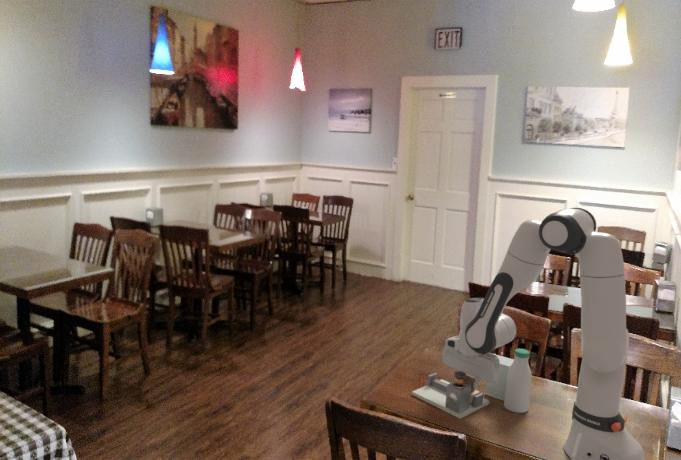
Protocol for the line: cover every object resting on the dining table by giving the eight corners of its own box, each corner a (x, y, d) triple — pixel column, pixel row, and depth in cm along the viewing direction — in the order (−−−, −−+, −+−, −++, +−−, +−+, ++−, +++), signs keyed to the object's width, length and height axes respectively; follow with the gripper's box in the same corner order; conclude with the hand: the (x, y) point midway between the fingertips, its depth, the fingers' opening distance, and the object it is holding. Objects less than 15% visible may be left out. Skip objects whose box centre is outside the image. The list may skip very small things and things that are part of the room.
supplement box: (505, 401, 188) (509, 366, 186) (484, 394, 192) (488, 360, 190) (513, 394, 194) (517, 359, 192) (493, 387, 198) (496, 354, 196)
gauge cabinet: (468, 412, 180) (471, 386, 178) (458, 417, 176) (460, 391, 174) (455, 405, 184) (457, 380, 182) (444, 410, 180) (446, 384, 178)
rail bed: (489, 404, 186) (490, 390, 185) (460, 418, 175) (461, 404, 174) (441, 382, 200) (442, 369, 200) (412, 394, 190) (413, 381, 189)
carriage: (479, 400, 184) (481, 377, 183) (470, 405, 181) (472, 381, 180) (464, 394, 189) (466, 371, 187) (455, 398, 186) (457, 375, 184)
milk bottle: (529, 415, 179) (536, 356, 176) (504, 411, 181) (511, 353, 177) (526, 404, 187) (533, 347, 183) (503, 400, 188) (508, 345, 185)
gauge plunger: (466, 397, 179) (468, 374, 177) (459, 400, 176) (461, 377, 175) (456, 393, 181) (459, 370, 180) (450, 396, 179) (452, 373, 178)
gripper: (505, 353, 176) (501, 394, 179) (452, 334, 191) (449, 372, 194) (494, 358, 172) (490, 400, 174) (441, 338, 187) (438, 377, 189)
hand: (468, 385), depth 184 cm, fingers closed on carriage, 3 cm apart
